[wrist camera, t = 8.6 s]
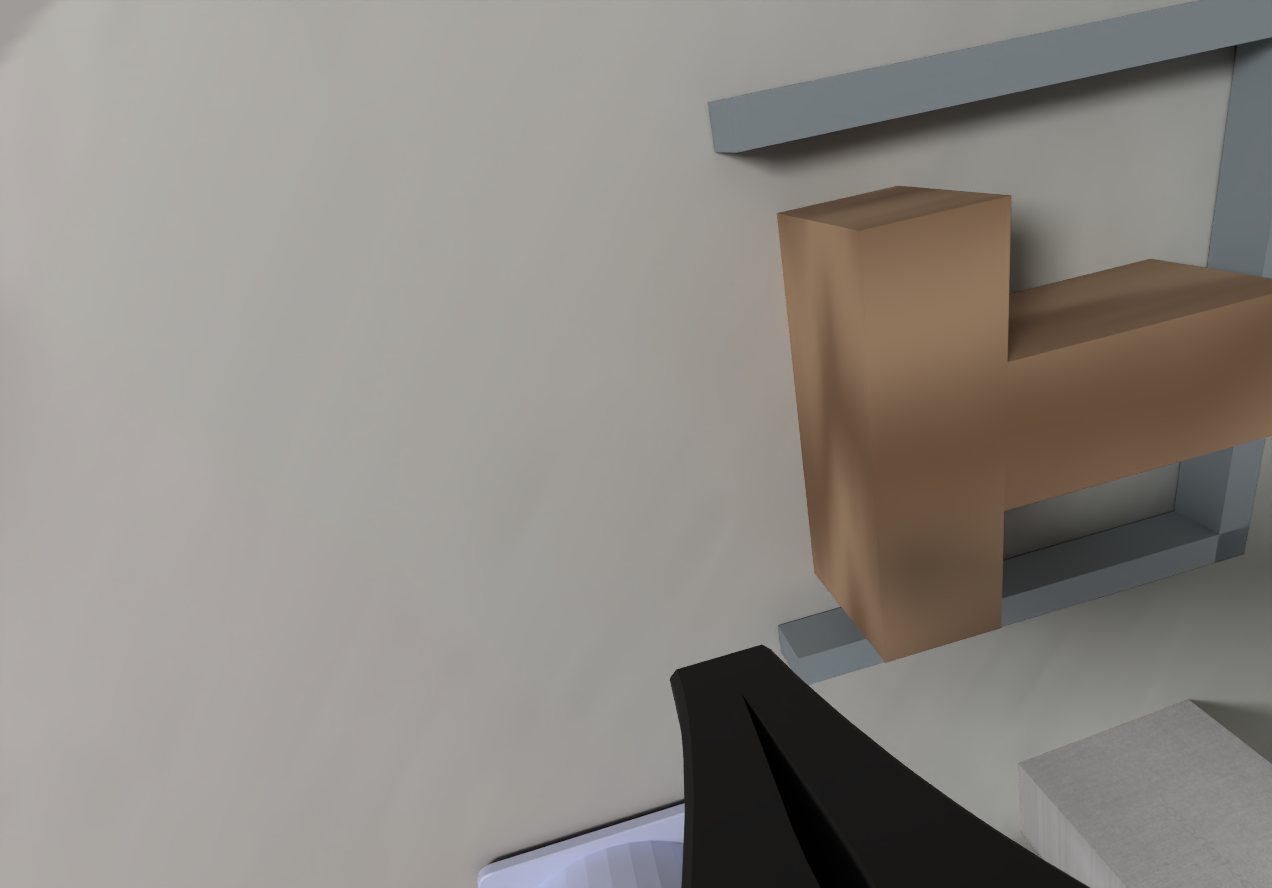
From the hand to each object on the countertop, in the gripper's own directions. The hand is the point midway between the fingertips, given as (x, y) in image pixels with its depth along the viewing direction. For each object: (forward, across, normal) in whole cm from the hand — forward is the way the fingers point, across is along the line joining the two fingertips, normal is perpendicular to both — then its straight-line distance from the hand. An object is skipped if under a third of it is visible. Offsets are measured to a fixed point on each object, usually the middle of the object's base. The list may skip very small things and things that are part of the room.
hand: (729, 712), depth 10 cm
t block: (+9, -10, 0) cm, 13 cm away
